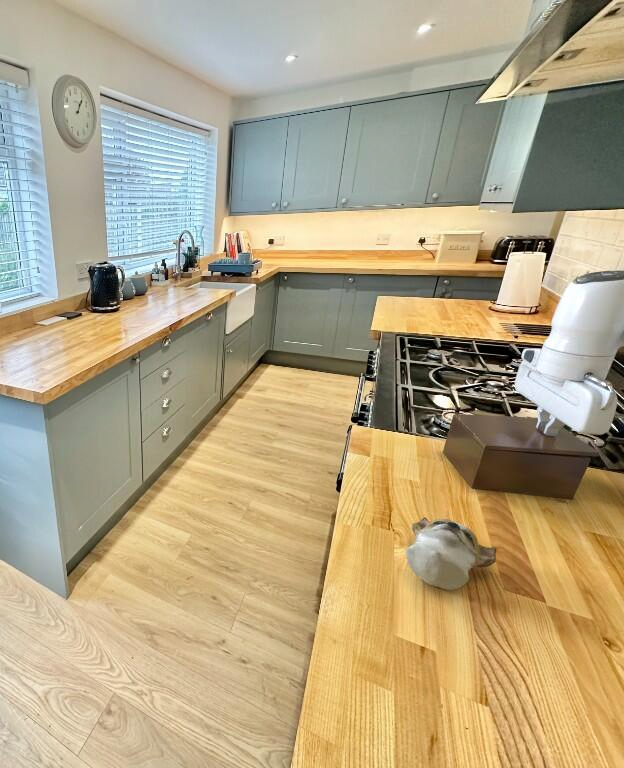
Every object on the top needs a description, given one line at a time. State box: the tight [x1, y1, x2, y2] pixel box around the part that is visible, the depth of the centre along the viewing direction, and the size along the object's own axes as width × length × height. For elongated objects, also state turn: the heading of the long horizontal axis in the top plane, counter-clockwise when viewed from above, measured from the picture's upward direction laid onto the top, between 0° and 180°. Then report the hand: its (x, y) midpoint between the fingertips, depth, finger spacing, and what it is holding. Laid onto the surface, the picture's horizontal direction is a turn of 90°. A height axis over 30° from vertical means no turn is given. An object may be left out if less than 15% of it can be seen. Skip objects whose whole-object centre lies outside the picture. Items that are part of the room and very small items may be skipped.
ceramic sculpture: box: [405, 516, 497, 591], centre depth 63 cm, size 11×9×15 cm
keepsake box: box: [442, 417, 592, 500], centre depth 83 cm, size 16×14×9 cm
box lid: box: [452, 413, 600, 457], centre depth 81 cm, size 16×14×1 cm
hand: (545, 432), depth 80 cm, fingers closed, pressing on box lid
